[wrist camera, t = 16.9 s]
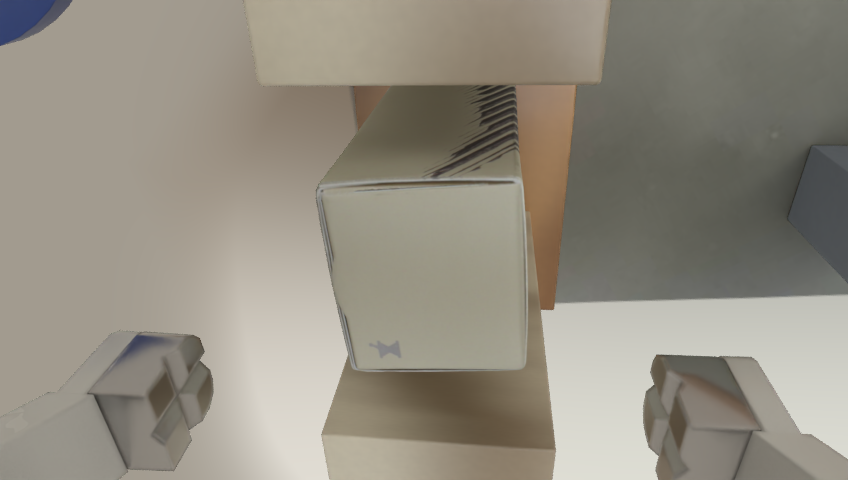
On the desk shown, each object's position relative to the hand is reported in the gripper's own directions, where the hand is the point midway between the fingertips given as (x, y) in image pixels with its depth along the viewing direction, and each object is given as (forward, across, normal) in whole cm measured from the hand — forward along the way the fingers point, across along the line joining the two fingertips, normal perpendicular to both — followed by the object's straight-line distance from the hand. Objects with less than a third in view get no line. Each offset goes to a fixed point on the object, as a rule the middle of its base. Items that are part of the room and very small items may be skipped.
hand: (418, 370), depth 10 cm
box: (+15, 0, 0) cm, 15 cm away
